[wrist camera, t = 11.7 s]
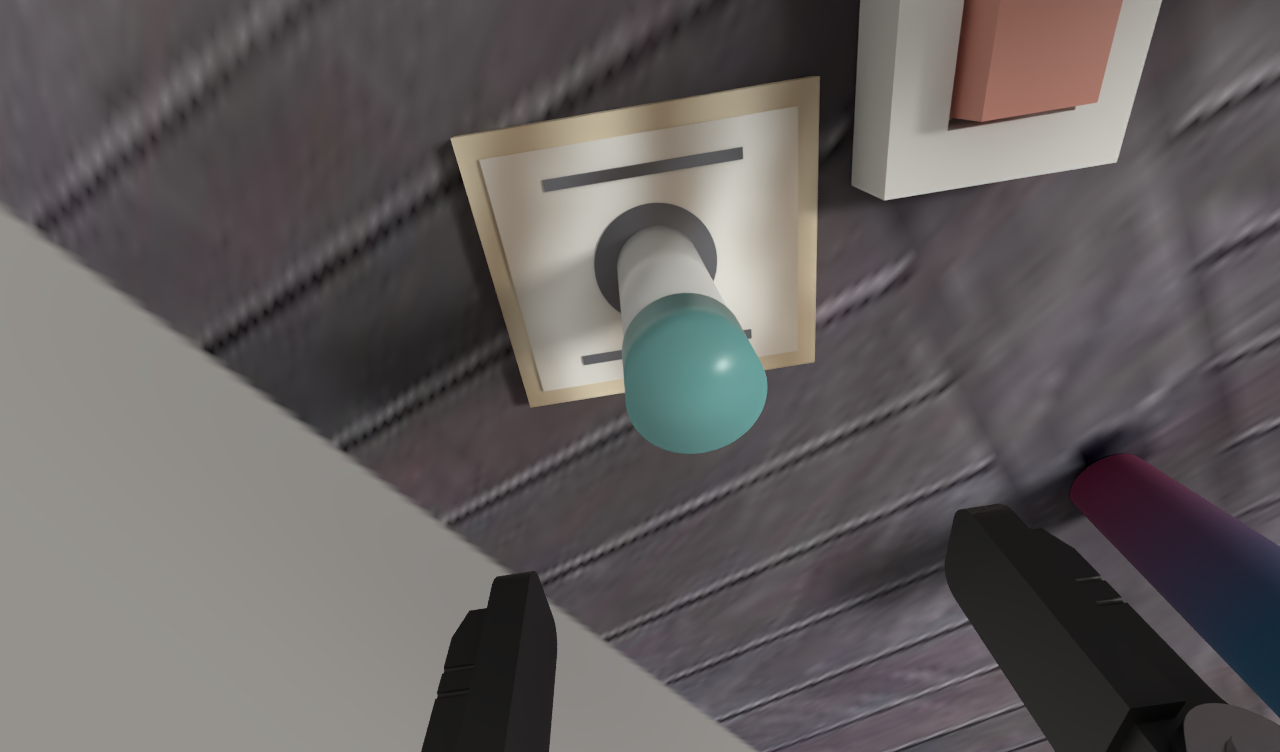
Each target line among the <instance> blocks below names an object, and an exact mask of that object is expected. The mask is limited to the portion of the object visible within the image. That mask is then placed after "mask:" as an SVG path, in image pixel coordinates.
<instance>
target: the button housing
mask: <svg viewBox="0 0 1280 752" xmlns="http://www.w3.org/2000/svg"><path fill="white" fill-rule="evenodd" d="M1161 2H1162V0H1123V2H1122V6H1121V10H1120V14H1119V18H1118V22H1117V26H1116V30H1115V34H1114V38H1113V42H1112V46H1111V50H1110V54H1109V58H1108V62H1107V66H1106V70H1105V74H1104V78H1103V82H1102V86H1101V90H1100V94H1099V98H1098V102H1097V103H1092V104H1086V105H1080V106H1074V107H1068V108H1062V109H1056V110H1050V111H1044V112H1037V113H1031V114H1025V115H1019V116H1013V117H1007V118H1001V119H995V120H989V121H983V122H979V121H972V120H965V119H957V118H950V117H949V115H950V107H951V99H952V91H953V84H954V76H955V68H956V60H957V52H958V45H959V37H960V29H961V21H962V13H963V6H964V0H860V13H859V34H858V55H857V76H856V96H855V117H854V138H853V158H852V179H851V185H852V186H854V187H856V188H858V189H860V190H862V191H865V192H867V193H869V194H871V195H873V196H875V197H878V198H880V199H882V200H890V199H897V198H903V197H909V196H915V195H921V194H927V193H933V192H939V191H945V190H951V189H957V188H963V187H969V186H976V185H982V184H988V183H994V182H1000V181H1006V180H1012V179H1018V178H1024V177H1030V176H1036V175H1042V174H1048V173H1054V172H1061V171H1067V170H1073V169H1079V168H1085V167H1091V166H1097V165H1103V164H1109V163H1115V162H1117V159H1118V156H1119V152H1120V149H1121V145H1122V142H1123V138H1124V134H1125V131H1126V127H1127V124H1128V120H1129V117H1130V113H1131V109H1132V106H1133V102H1134V99H1135V95H1136V92H1137V88H1138V84H1139V81H1140V77H1141V74H1142V70H1143V67H1144V63H1145V59H1146V56H1147V52H1148V49H1149V45H1150V42H1151V38H1152V35H1153V31H1154V27H1155V24H1156V20H1157V17H1158V13H1159V10H1160V6H1161Z"/></svg>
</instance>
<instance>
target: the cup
mask: <svg viewBox="0 0 1280 752" xmlns="http://www.w3.org/2000/svg"><path fill="white" fill-rule="evenodd" d="M1070 499H1071V501H1072V503H1073V504H1074V505H1075V506H1076V507H1077V508H1078V509H1079V510H1080V511H1081V512H1082V513H1083V514H1084V515H1085V516H1086V517H1087V518H1088V519H1089V520H1090V521H1091V522H1092V523H1093V524H1094V526H1095V527H1096V528H1097V529H1098V530H1099V531H1100V532H1101V533H1102V534H1103V535H1104V536H1105V537H1106V538H1107V539H1108V540H1109V541H1110V542H1111V543H1112V544H1113V545H1114V546H1115V547H1116V548H1117V549H1118V550H1119V551H1120V553H1121V554H1122V555H1123V556H1124V557H1125V558H1126V559H1127V560H1128V561H1129V562H1130V563H1131V564H1132V565H1133V566H1134V567H1135V568H1136V569H1137V570H1138V571H1139V572H1140V573H1141V574H1142V575H1143V576H1144V577H1145V579H1146V580H1147V581H1148V582H1149V583H1150V584H1151V585H1152V586H1153V587H1154V588H1155V589H1156V590H1157V591H1158V592H1159V593H1160V594H1161V595H1162V596H1163V597H1164V598H1165V599H1166V600H1167V601H1168V602H1169V603H1170V604H1171V606H1172V607H1173V608H1174V609H1175V610H1176V611H1177V612H1178V613H1179V614H1180V615H1181V616H1182V617H1183V618H1184V619H1185V620H1186V621H1187V622H1188V623H1189V624H1190V625H1191V626H1192V627H1193V628H1194V629H1195V630H1196V632H1197V633H1198V634H1199V635H1200V636H1201V637H1202V638H1203V639H1204V640H1205V641H1206V642H1207V643H1208V644H1209V645H1210V646H1211V647H1212V648H1213V649H1214V650H1215V651H1216V652H1217V653H1218V654H1219V655H1220V656H1221V657H1222V659H1223V660H1224V661H1225V662H1226V663H1227V664H1228V665H1229V666H1230V667H1231V668H1232V669H1233V670H1234V671H1235V672H1236V673H1237V674H1238V675H1239V676H1240V677H1241V678H1242V679H1243V680H1244V681H1245V682H1246V683H1247V684H1248V686H1249V687H1250V688H1251V689H1252V690H1253V691H1254V692H1255V693H1256V694H1257V695H1258V696H1259V697H1260V698H1261V699H1262V700H1263V701H1264V702H1265V703H1266V704H1267V705H1268V706H1269V707H1270V708H1271V709H1272V710H1273V712H1274V713H1275V714H1276V715H1277V716H1278V717H1279V718H1280V546H1278V545H1277V544H1275V543H1274V542H1272V541H1270V540H1269V539H1267V538H1266V537H1264V536H1262V535H1261V534H1259V533H1258V532H1256V531H1255V530H1253V529H1251V528H1250V527H1248V526H1247V525H1245V524H1243V523H1242V522H1240V521H1239V520H1237V519H1236V518H1234V517H1232V516H1231V515H1229V514H1228V513H1226V512H1225V511H1223V510H1221V509H1220V508H1218V507H1217V506H1215V505H1213V504H1212V503H1210V502H1209V501H1207V500H1206V499H1204V498H1202V497H1201V496H1199V495H1198V494H1196V493H1194V492H1193V491H1191V490H1190V489H1188V488H1187V487H1185V486H1183V485H1182V484H1180V483H1179V482H1177V481H1175V480H1174V479H1172V478H1171V477H1169V476H1168V475H1166V474H1164V473H1163V472H1161V471H1160V470H1158V469H1157V468H1155V467H1153V466H1152V465H1150V464H1149V463H1147V462H1145V461H1144V460H1142V459H1141V458H1139V457H1137V456H1135V455H1132V454H1116V455H1112V456H1108V457H1106V458H1103V459H1101V460H1099V461H1097V462H1095V463H1093V464H1092V465H1090V466H1089V467H1087V468H1086V469H1085V470H1084V471H1083V472H1081V474H1080V475H1079V476H1078V477H1077V478H1076V480H1075V481H1074V483H1073V485H1072V487H1071V490H1070Z"/></svg>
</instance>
